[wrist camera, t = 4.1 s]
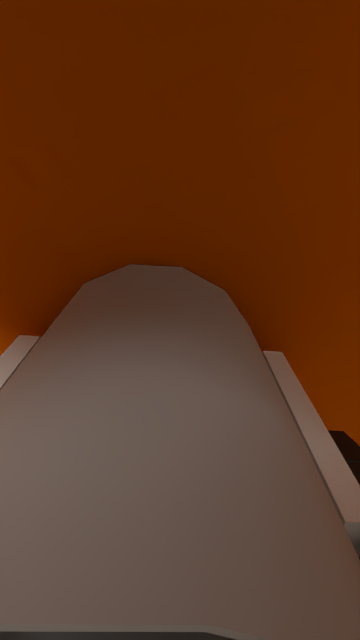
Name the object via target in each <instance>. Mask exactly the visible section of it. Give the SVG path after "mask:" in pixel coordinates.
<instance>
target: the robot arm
mask: <svg viewBox="0 0 360 640" xmlns="http://www.w3.org/2000/svg"><path fill="white" fill-rule="evenodd" d="M39 340H40V336H26V335H19V336H18V337H17V338H16V339H15V340H14V342H13V343H12V344H11V345H10V346H9V347H8V348H7V349H6V350H5V351H4V353H3V354H2V355H1V356H0V391H1V389H2V388H3V387H4V385H5V384H6V383H7V381H8V380H9V379H10V378H11V376H12V375H13V374H14V372H15V371H16V370H17V368H18V367H19V366H20V364H21V363H22V362H23V361H24V359H25V358H26V357H27V355H28V354H29V353H30V351H31V350H32V349H33V348H34V346H35V345H36V344H37V342H38V341H39ZM262 354H263V356H264V358H265V360H266V362H267V364H268V366H269V368H270V371H271V373H272V375H273V377H274V379H275V381H276V383H277V385H278V387H279V390H280V392H281V394H282V396H283V398H284V400H285V402H286V404H287V407H288V409H289V411H290V413H291V415H292V417H293V419H294V421H295V423H296V426H297V428H298V430H299V432H300V434H301V436H302V438H303V440H304V443H305V445H306V447H307V449H308V451H309V453H310V455H311V457H312V459H313V462H314V464H315V466H316V468H317V470H318V472H319V474H320V476H321V478H322V481H323V483H324V485H325V487H326V489H327V491H328V493H329V495H330V498H331V500H332V502H333V504H334V506H335V508H336V510H337V512H338V514H339V517H340V519H341V521H342V523H343V525H344V527H345V529H346V531H347V534H348V536H349V538H350V540H351V542H352V544H353V546H354V548H355V550H356V553H357V555H358V557H359V559H360V447H359V445H358V444H357V443H356V442H355V441H353V440H352V439H351V438H350V437H349V436H348V435H347V434H346V433H344V432H343V431H328V430H327V428H326V427H325V425H324V423H323V421H322V420H321V418H320V416H319V415H318V413H317V411H316V409H315V408H314V406H313V404H312V403H311V401H310V399H309V397H308V396H307V394H306V392H305V391H304V389H303V387H302V385H301V384H300V382H299V380H298V378H297V377H296V375H295V373H294V372H293V370H292V368H291V366H290V365H289V363H288V361H287V360H286V358H285V356H284V354H283V353H282V352H277V351H263V352H262Z"/></svg>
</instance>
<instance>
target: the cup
mask: <svg viewBox="0 0 360 640" xmlns="http://www.w3.org/2000/svg"><path fill="white" fill-rule="evenodd" d="M0 640H360V559H359V557H358V555H357V553H356V550H355V548H354V546H353V544H352V542H351V540H350V538H349V536H348V534H347V531H346V529H345V527H344V525H343V523H342V521H341V519H340V517H339V514H338V512H337V510H336V508H335V506H334V504H333V502H332V500H331V498H330V495H329V493H328V491H327V489H326V487H325V485H324V483H323V481H322V478H321V476H320V474H319V472H318V470H317V468H316V466H315V464H314V462H313V459H312V457H311V455H310V453H309V451H308V449H307V447H306V445H305V443H304V440H303V438H302V436H301V434H300V432H299V430H298V428H297V426H296V423H295V421H294V419H293V417H292V415H291V413H290V411H289V409H288V407H287V404H286V402H285V400H284V398H283V396H282V394H281V392H280V390H279V387H278V385H277V383H276V381H275V379H274V377H273V375H272V373H271V371H270V368H269V366H268V364H267V362H266V360H265V358H264V356H263V354H262V351H261V349H260V347H259V345H258V343H257V341H256V339H255V337H254V335H253V332H252V330H251V328H250V326H249V325H248V323H247V322H246V320H245V319H244V317H243V316H242V314H241V313H240V311H239V310H238V309H237V307H236V306H235V304H234V303H233V301H232V300H231V298H230V297H229V295H228V294H227V292H226V291H225V290H224V289H222V288H220V287H218V286H216V285H214V284H212V283H211V282H209V281H207V280H205V279H203V278H201V277H199V276H198V275H196V274H194V273H192V272H190V271H188V270H186V269H184V268H183V267H173V266H154V265H135V264H129V265H127V266H124V267H122V268H120V269H117V270H115V271H112V272H110V273H108V274H105V275H103V276H100V277H98V278H96V279H93V280H91V281H88V282H86V283H84V284H83V285H82V287H81V288H80V289H79V290H78V292H77V293H76V294H75V295H74V296H73V298H72V299H71V300H70V301H69V303H68V304H67V305H66V306H65V308H64V309H63V310H62V311H61V313H60V314H59V315H58V316H57V318H56V319H55V320H54V321H53V323H52V324H51V325H50V327H49V328H48V329H47V331H46V332H45V333H44V334H43V336H42V337H41V338H40V340H39V341H38V342H37V344H36V345H35V346H34V348H33V349H32V350H31V351H30V353H29V354H28V355H27V357H26V358H25V359H24V361H23V362H22V363H21V364H20V366H19V367H18V368H17V370H16V371H15V372H14V374H13V375H12V376H11V378H10V379H9V380H8V381H7V383H6V384H5V385H4V387H3V388H2V389H1V391H0Z"/></svg>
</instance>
